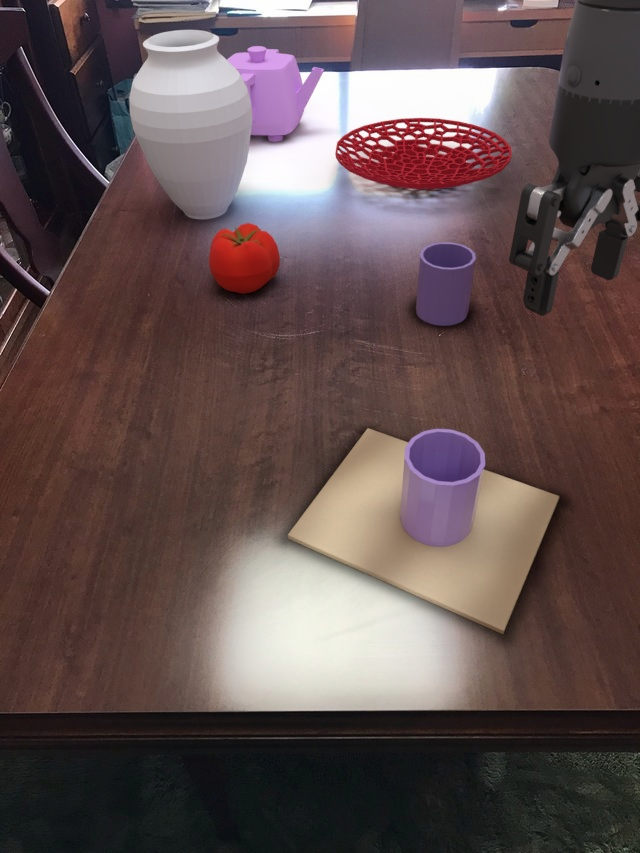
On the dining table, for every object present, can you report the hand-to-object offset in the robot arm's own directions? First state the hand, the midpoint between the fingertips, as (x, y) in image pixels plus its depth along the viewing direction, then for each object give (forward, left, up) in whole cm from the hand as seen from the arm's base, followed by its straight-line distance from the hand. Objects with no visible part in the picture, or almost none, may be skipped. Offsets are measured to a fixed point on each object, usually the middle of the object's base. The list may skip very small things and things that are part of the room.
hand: (571, 292), depth 56 cm
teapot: (+74, -64, -19) cm, 100 cm away
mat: (+6, +13, -19) cm, 23 cm away
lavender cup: (+5, +13, -18) cm, 23 cm away
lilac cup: (+18, -20, -19) cm, 33 cm away
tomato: (+44, -14, -19) cm, 50 cm away
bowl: (+37, -57, -19) cm, 71 cm away
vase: (+63, -30, -19) cm, 72 cm away
